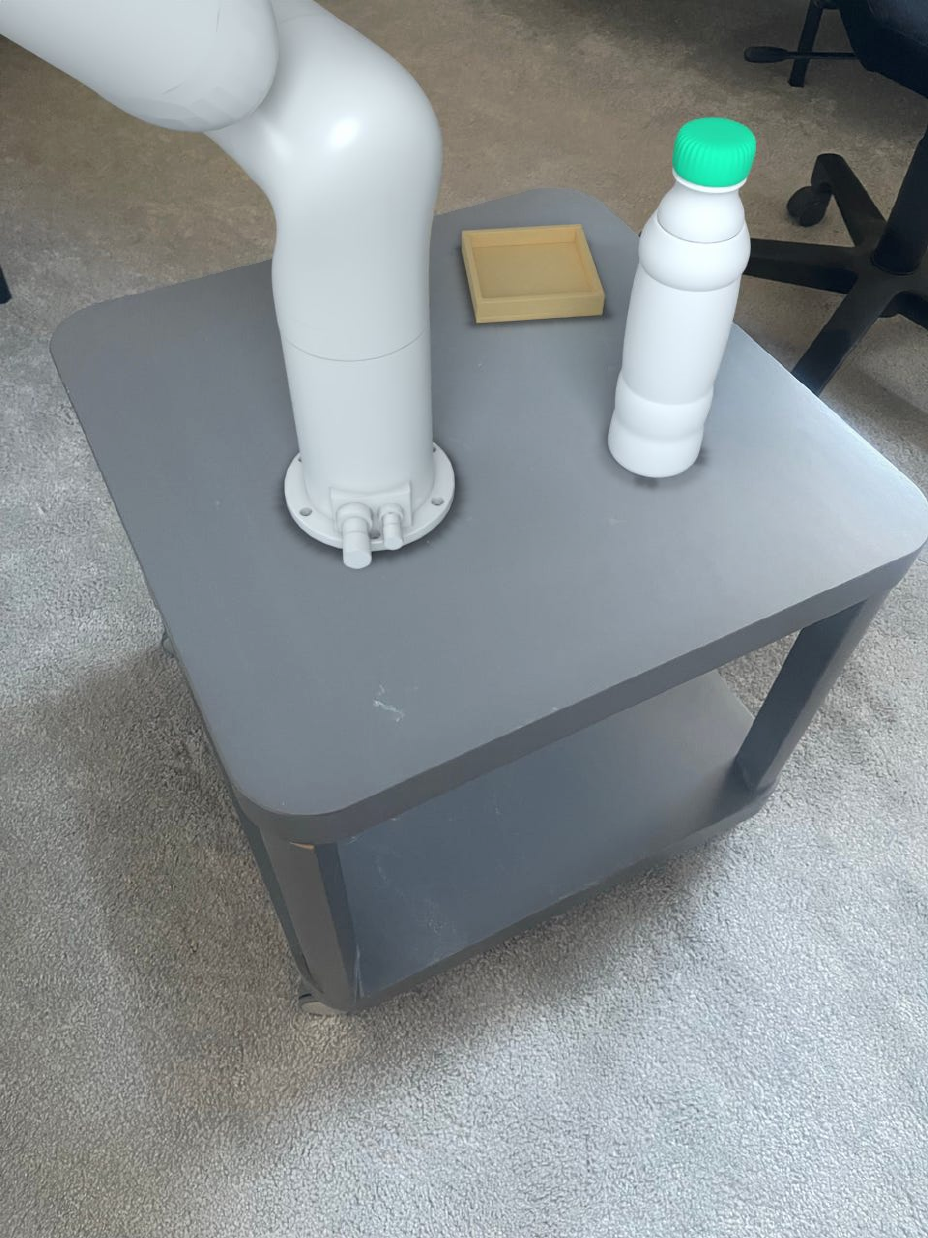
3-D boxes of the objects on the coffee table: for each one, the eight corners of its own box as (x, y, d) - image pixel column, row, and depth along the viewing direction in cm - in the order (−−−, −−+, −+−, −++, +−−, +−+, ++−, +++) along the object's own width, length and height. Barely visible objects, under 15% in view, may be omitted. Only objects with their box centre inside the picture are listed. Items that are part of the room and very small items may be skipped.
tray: (602, 315, 89) (605, 294, 87) (476, 323, 88) (476, 302, 86) (579, 243, 96) (581, 223, 94) (461, 250, 95) (461, 230, 93)
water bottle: (597, 471, 77) (646, 150, 57) (616, 412, 81) (668, 94, 61) (689, 490, 76) (772, 170, 56) (704, 430, 80) (786, 111, 60)
